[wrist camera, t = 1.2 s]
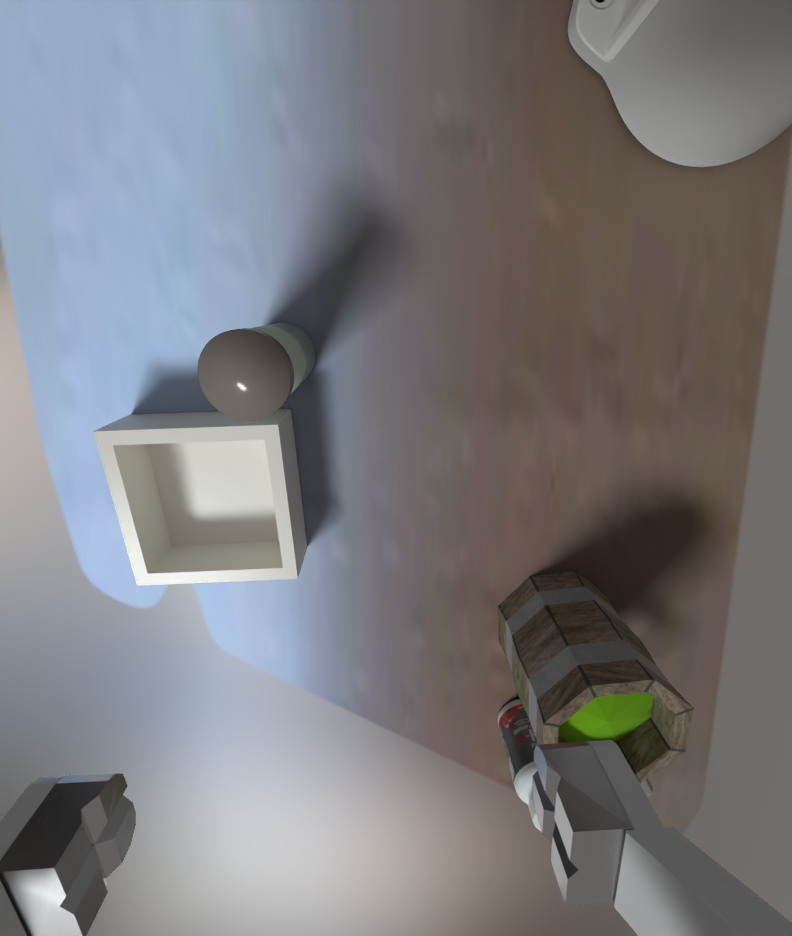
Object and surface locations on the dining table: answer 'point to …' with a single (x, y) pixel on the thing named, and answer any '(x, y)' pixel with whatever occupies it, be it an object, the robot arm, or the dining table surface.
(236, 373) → the spice jar
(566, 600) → the mug
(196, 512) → the bin
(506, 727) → the pill bottle
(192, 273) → the dining table surface
